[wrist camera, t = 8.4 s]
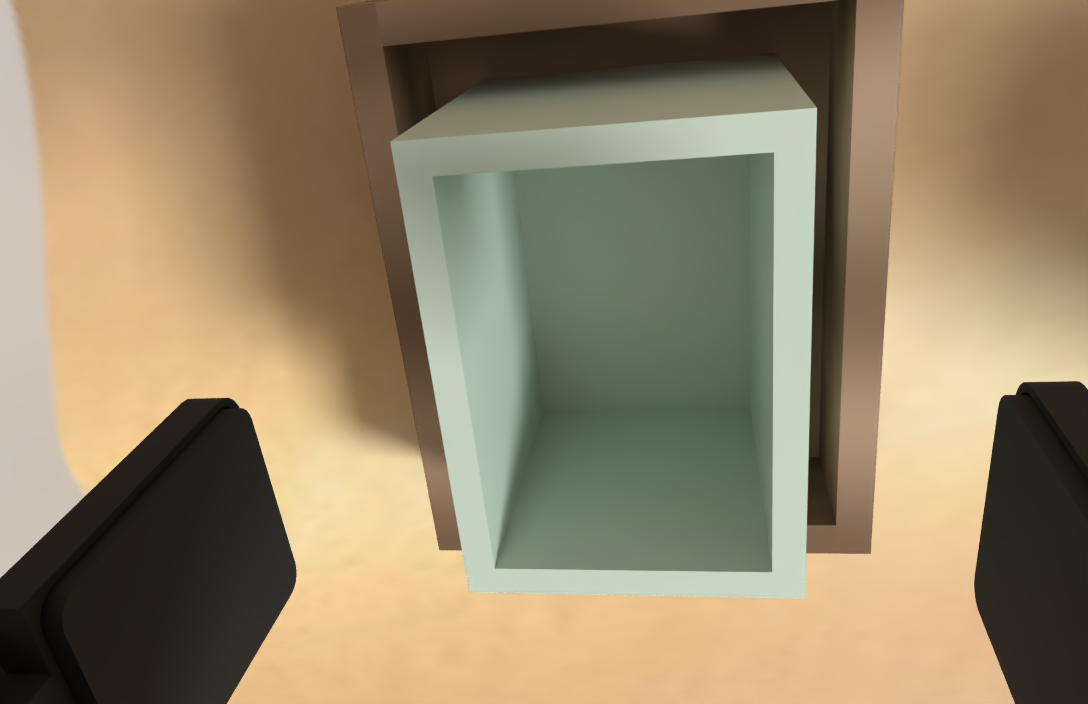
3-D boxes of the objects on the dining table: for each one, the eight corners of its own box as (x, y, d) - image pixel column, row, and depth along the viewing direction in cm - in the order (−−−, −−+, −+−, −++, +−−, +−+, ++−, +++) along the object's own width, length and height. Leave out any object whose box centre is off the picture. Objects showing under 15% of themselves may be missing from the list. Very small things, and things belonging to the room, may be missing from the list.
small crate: (483, 79, 20) (389, 141, 14) (774, 52, 19) (817, 107, 13) (527, 420, 24) (469, 592, 17) (772, 416, 23) (805, 598, 16)
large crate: (395, -4, 20) (336, 7, 17) (866, -57, 18) (907, -57, 15) (472, 469, 26) (439, 550, 22) (844, 466, 24) (870, 553, 20)
